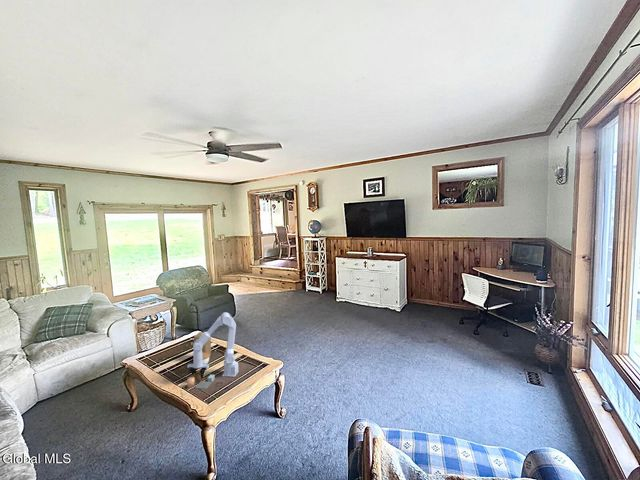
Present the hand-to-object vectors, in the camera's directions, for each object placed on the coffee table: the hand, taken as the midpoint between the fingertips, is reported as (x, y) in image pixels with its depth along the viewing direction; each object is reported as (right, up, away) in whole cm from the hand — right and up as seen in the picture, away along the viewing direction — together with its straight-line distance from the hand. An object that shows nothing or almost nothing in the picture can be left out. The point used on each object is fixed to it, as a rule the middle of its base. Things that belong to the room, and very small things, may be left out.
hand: (198, 377), depth 194 cm
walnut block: (0, -1, 0) cm, 1 cm away
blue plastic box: (+9, -2, 0) cm, 9 cm away
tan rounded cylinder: (-2, -2, -7) cm, 8 cm away
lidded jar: (-6, -1, +21) cm, 22 cm away
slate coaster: (+6, -2, -7) cm, 9 cm away
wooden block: (-10, 0, +32) cm, 33 cm away
